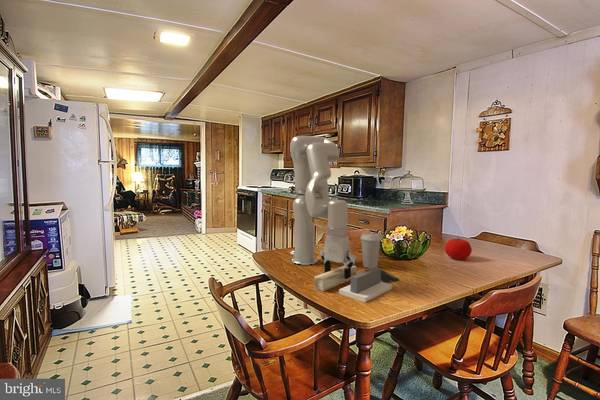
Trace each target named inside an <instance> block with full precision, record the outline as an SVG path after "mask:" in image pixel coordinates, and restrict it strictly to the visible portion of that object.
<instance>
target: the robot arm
mask: <svg viewBox="0 0 600 400" xmlns="http://www.w3.org/2000/svg"><path fill="white" fill-rule="evenodd" d="M289 151H290V153H289V154H290V156H291V159H292V162H293V167H294V168H293V170H294V187H295V188H294V189H295V191H296V192H297V193H298V194H304V196H299V197H296V198H295V199H294V200H293V201H292V210H293V217H294V250H291V251H290V253H289V255H291V256H292V258H291V263H292V262H293V263H292V264H294V263H296V264H295V265H297V264H301V265H300V266H311V265H310V264H313V265H315V263H316V264H317V263H318V258H317V257H315V237H316V236H315V228H316V227H315V223H314V222H313V221H312V219H311V217H312V218H315V219H316V218H327V227H326V229H325V231H326V232H327V234H326V235H325V238H324V239H325V240H324V244H323V245H324V246H323V249H321V250H320V251H319V254H320V256H321V257H320V258H321V259H322V263H323V264H324V273H326V272H329V271H331V270H332V267H331V266H332V262H334V263H338V264H343V266H345V268H344V278H345V279H347V278H350V276H351V267H352V266H355V263H356V262H357V260H358V259H357V257H356V255H354V254H352V253H351V245H350V237H349V236H348V203H347V202H348V201H346V200H343V199H338V198H330V197H329V183H328V180H329V179H330V178H331V176H332V171H331V166H330V163H336V162H337V161H338V159H339V158H340V149H339V148H338V146H337V144H336V143H335V142H333V141H332V140H331V139H329V138H327V137H326V136H316V135H315V136H313V135H297V136H294V137H293V138H292V139H291V141H290V145H289Z"/></svg>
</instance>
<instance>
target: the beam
mask: <svg viewBox="0 0 600 400" xmlns="http://www.w3.org/2000/svg"><path fill="white" fill-rule="evenodd" d="M344 268H345V266H344V265H342V266H340V267H337V268H334V269H331V271H329V272H326V273H325V272H324V273H321V274H318V275H315V276H314V278H313V279H314V284H313V285H314V286H313V287H314V288H313V289H314V290H316V291H319V292H322V293H323V292H325V291H328V290H330V289H332V288H335V287H337V286H340V285H342V284H344V283H346V282H348V281H351V280H350V279H351V276H354V275H356V274H357V265H353V266H352V267H351V276H350V278H347V279H345V278H344ZM339 284H340V285H339Z"/></svg>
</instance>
